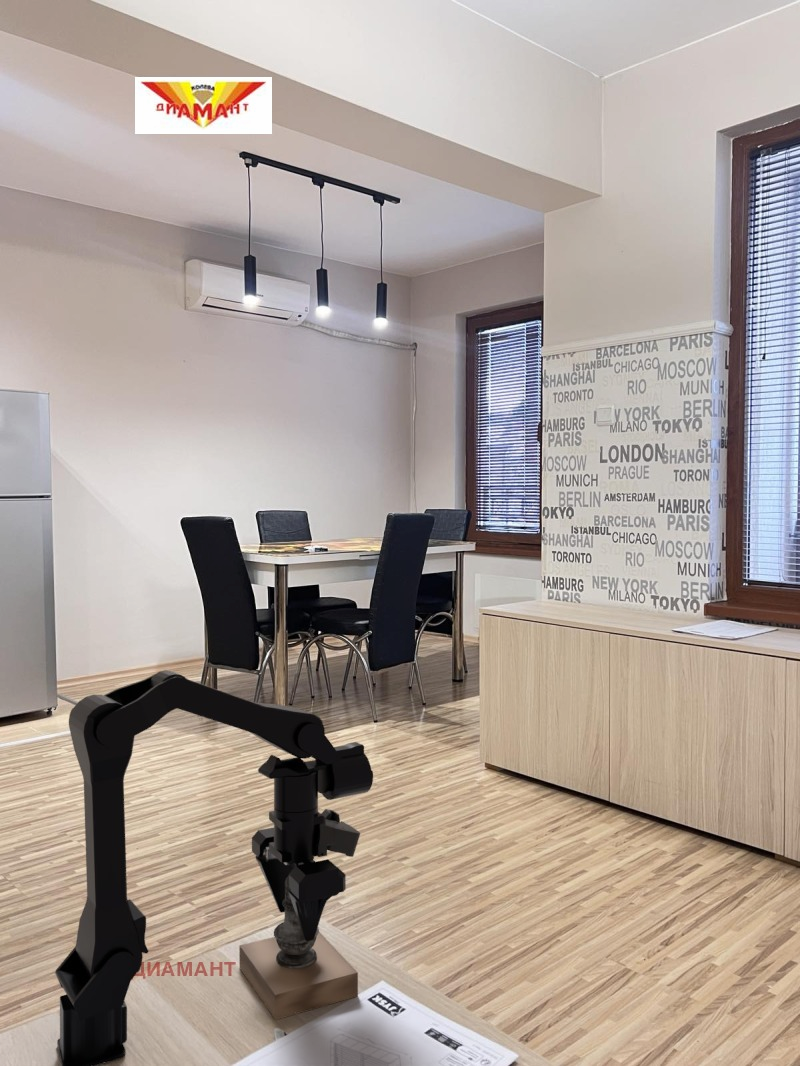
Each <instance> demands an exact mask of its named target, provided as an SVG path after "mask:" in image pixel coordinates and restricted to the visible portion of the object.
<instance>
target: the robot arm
mask: <svg viewBox="0 0 800 1066" xmlns="http://www.w3.org/2000/svg"><path fill="white" fill-rule="evenodd" d="M176 709H178V710H181V711H184V712H186V713H190V714H193V715H197V716H198V717H203V718H205V719H209V720H212V721H214V722H217V723H218V722H219V723H220V724H224V725H227V726H230V727H233V728H236V729H239V730H242V731H245V732H249V733H250V734H252V735H254V736H255V737H257V738H258V739H260V740H261V741H263V742H265V743H267V744H268V745H271V746H272V747H274V748H276V749H277V750H281V751H283V752H285V753H287V754H289V755H292V756H293V757H290V758H284V759H281V758H280V757H278V756H276V755H273V754H270V755H269V757H268V759H267V760H266V761H265V762H263V763H262V764H261V765H260V766H259V767H258V768H257V772H258V773H259V774H260V775H263V776H264V777H266V778H268V779H271V780H273V810H271V811H268V819H269V821H271V822H272V823H273V827H269V828H265V829H264V828H263V829H257V831H256V832H255V834H254V835H253V836H252V837H251V852H252V853H253V854H254V855H255V857H254V858H255V861H256V862H257V864H258V866H259V868H260V870H261V872H262V875H263V877H264V880H265V881H266V883H267V886H268V889H269V890H270V892H271V896H272V898H273V900H274V902H275V904H276V907H277V909H278V912H280V913H285V907H283V905H282V902H283V900H284V899H285V880H286V878H287V877H288V876H289V886H290V889H291V891H289V895H290V898H291V901H292V904H293V907H294V910H295V913H296V916H297V919H298V922H299V925H300V928H301V931H302V933H303V936H304V939H305V940H306V941H311V940H313V939H314V937H315V934H316V931H317V928H319V925H320V921H321V917H322V914H323V911H324V908H325V906H326V904H327V902H328V901H329V900H330V899H331V898H332V897H336V896H338V895H339V894H340V893H343V892H345V891H346V879H347V877H346V873H345V872H343V870H341V869H340V868H339V867H338V866H336V864H334V863H333V862H332V861H331V860H329V859H328V858H327V859H323V860H318V861H315V857H317V858H322V857H327V856H328V851H329V852H333V853H338V854H342V855H345V856H346V857H351V858H353V857H354V855H355V851H356V849H357V847H358V846H357V845H358V843H359V839H360V836H361V832H360V831H359V830H357V829H356V828H355V827H353V826H352V825H350V824H348V823H346V822H344V821H341V819H340V814H339V813H338V812H337V811H336V810H333V809H329V808H325V809H324V810H323V811H322V812H319V794H321V795H322V796H323V798H325V799H326V800H327V801H328V800H329V801H331V800H336V799H340V798H342V799H343V798H347V797H350V796H351V797H352V796H355V795H360V794H366V793H368V792H369V791H370V790H371V788H372V787H373V783H374V772H373V769H372V767H371V762H370V761H369V758H368V756H367V755H366V754H365V746H364V745H363V744H362V743H359V742H356V741H355V742H350V743H346V744H345V745H340V746H334V745H333V744H332V743H331V741H330V740H329V739H328V737H327V736H326V731H325V726H324V722H323V720H322V718H320V717H319V716H317V715H316V714H314V713H311V712H308V711H305V710H304V709H303V710H302V709H300V708H297V707H294V706H290V705H284V704H283V705H282V704H277V703H261V702H254V701H251V700H248V699H246V698H243V697H240V696H236V695H235V694H231V693H228V692H226V691H223V690H219V689H216V688H214V687H212V686H209V685H205V684H204V683H200V682H197V681H194V680H191V679H188V678H187V677H185V676H184V675H182V674H180V673H177V672H175V671H171V670H168V669H167V670H166V669H164V670H160V671H158V672H157V673H155V674H152V675H151V676H149V677H146V678H144V679H142V680H139V681H136V682H133V683H130V684H127V685H124V686H122V687H118V688H116V689H114V690H111V691H109V692H107V693H106V694H91V695H87V696H85V697H84V698H82V699H81V700H79V701H78V702H77V703H76V704H75V705H74V706H73V707H72V709H70V713H69V716H68V727H69V732H70V737H71V741H72V747H73V749H74V750H73V751H74V753H75V757H76V759H77V762H78V766H79V768H80V770H81V774H82V778H83V798H84V799H83V800H84V802H83V803H84V830H85V831H84V832H85V833H84V834H85V839H84V840H85V863H86V865H85V868H86V869H85V870H86V872H85V873H86V901H85V904H84V907H83V909H82V913H81V915H80V918H79V920H78V921H79V922H78V927H77V928H78V929H77V933H76V934H77V936H76V942H75V946H74V947H73V949H72V950H71V951H70V953H69V954H68V955H67V956H66V957H65V958H64V959H63V961H62V962H61V963H60V964H59V965H58V967H57V968H56V969H55V971H54V973H55V977H56V978H57V981H58V983H59V985H60V987H61V988H62V990H64V992H65V994H63V995H60V996H59V1038H58V1039H57V1042H56V1043H57V1049H58V1054H59V1057H60V1063H61V1066H98V1065H103V1064H106V1063H108V1062H112V1061H116V1060H119V1059H122V1058H125V1056H126V1049H125V1045H124V1044H125V1043H127V1041H128V1007H127V1004H126V1001H125V998H126V996H127V993H128V991H129V987H130V985H131V982H132V980H133V978H135V976H136V974H137V973H139V972H140V970H141V968H142V965H143V954H148V953H149V949H148V947H147V944H146V939H145V938H146V929H147V917H146V916H145V914H144V913H143V912H142V911H141V910H140V909H139V907H138V906H137V905H136V904H135V903H134V902H133V901H132V899H130V898H129V899H128V886H127V885H128V884H127V881H128V880H127V852H126V851H127V850H126V849H127V848H126V844H127V843H126V817H125V815H126V814H125V811H126V810H125V784H124V782H125V775H126V772H127V769H128V766H129V764H130V761H131V758H132V755H133V749H134V743H135V742H134V741H135V736H137V735H140V734H141V733H143V732H146V731H147V730H148V729H150V728H152V727H153V726H154V725H155V724H156V723H158V722H159V721H160V720H162V718H163V717H165V716H166V715H167V714H169V713H170V712H172V711H174V710H176ZM309 758H312V759H314V760H307V761H304V760H305V759H309Z"/></svg>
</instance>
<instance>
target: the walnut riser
mask: <svg viewBox="0 0 800 1066" xmlns="http://www.w3.org/2000/svg"><path fill="white" fill-rule="evenodd" d="M238 947H239V969H240V968H241V969H240V970H241V972H242V973H243V975H244V976H245V978H246V979H247V980H248V982H249V984H250V985H251V986H252V988H253V989H254V991H255V992H256V994H257V995H258V996H259V998H260V999H261V1001H262V1003H263V1005H265V1007H266V1008H267V1010H268V1011H269V1013H270V1014H271V1016H272V1017H273V1019H274V1020H279V1019H282V1018H286V1017H290V1016H293V1015H297V1014H300V1013H304V1012H307V1011H310V1010H314V1009H318V1008H322V1007H325V1006H329V1005H331V1004H335V1003H338V1002H342V1001H346V1000H349V999H352V998H356V997H358V995H359V972H358V971H357V970H356V968H354V967H353V966H352V964H351V963H350V962H349V961H348V960H347V959H346V958H345V957H344V955H342V954H341V953H340V951H338V950H337V948H335V946H334V945H332V943H330V941H329V940H328V939H327V937H325V936H324V935H323V934H322V933H321V931H319V933H318V935H317V938H316V941H315V943H314V946H313V947H312V949H313V950H315V952H316V954H317V958H316V960H315V961H314V963H312V964H311V965H309V966H307V967H303V968H298V969H290V968H285V967H283V966H281V965H279V964H278V963H277V961H276V956H277V954H278V953H279V951H281V949H280V948H279V946H278V944H277V942H276V938H275V936H273V937H269V938H264V939H259V940H257V941H256V940H255V941H251V942H248V943H244V944H240V945H239V946H238Z"/></svg>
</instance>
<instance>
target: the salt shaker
mask: <svg viewBox="0 0 800 1066" xmlns="http://www.w3.org/2000/svg"><path fill="white" fill-rule="evenodd" d="M289 891H291V889H290V886H289V876H288V877H287V878H286V880H285V899H284V900H283V902H282V905H283V907H285V912H284V919H283V922H280V923H279V924H277V925H276V927H275V928H274V930H273V937H275V938H276V942H277V944H278V946H279V948H280V949H281V951H279V953H278V954H277V956H276V961H277V963H278V964H279V965H281V966H283V967H285V968H290V969H298V968H303V967H307V966H309V965H311V964H312V963H314V961H315V960H316V958H317V954H316V952H315V950H313V949H312V947H313V946H314V943H315V941H316V938H317V935H318V933H319V932H320V928H319V927H318V928H317V931H316V934H315V937H314V939H313V940H311V941H306V940H305V939H304V936H303V933H302V931H301V928H300V925H299V922H298V919H297V916H296V913H295V910H294V907H293V904H292V901H291V898H290V895H289Z"/></svg>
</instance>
